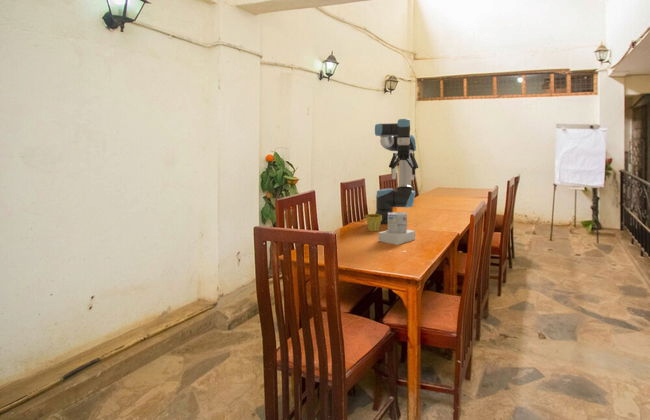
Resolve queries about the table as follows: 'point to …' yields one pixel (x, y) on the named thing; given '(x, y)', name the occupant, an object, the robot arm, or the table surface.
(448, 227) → the table surface
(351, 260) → the table surface
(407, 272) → the table surface
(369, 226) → the plant pot
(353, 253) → the table surface
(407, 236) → the grey plinth
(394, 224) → the light bulb box
